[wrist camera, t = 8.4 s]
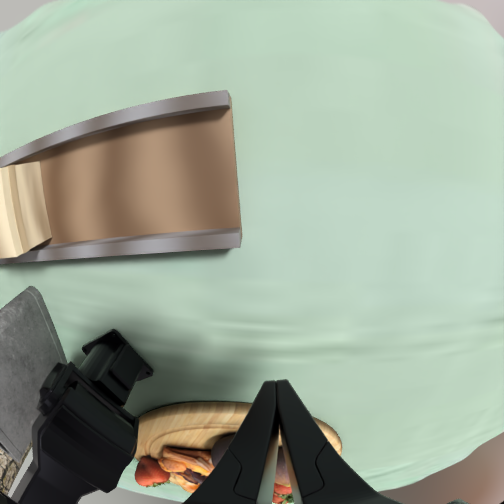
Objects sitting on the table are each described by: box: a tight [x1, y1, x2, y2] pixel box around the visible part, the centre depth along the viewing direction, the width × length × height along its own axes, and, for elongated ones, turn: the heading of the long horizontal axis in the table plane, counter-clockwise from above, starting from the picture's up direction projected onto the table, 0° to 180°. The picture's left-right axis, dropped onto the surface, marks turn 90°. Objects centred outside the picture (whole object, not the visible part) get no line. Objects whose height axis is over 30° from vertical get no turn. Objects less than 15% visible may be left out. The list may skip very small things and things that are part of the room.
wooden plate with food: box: [135, 402, 342, 504], centre depth 30 cm, size 32×32×8 cm
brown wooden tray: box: [0, 90, 242, 264], centre depth 18 cm, size 30×10×4 cm, turn 94°
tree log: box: [0, 440, 32, 495], centre depth 21 cm, size 7×7×25 cm
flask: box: [0, 286, 67, 463], centre depth 18 cm, size 4×14×18 cm, turn 177°
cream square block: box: [0, 161, 52, 258], centre depth 17 cm, size 7×7×5 cm
